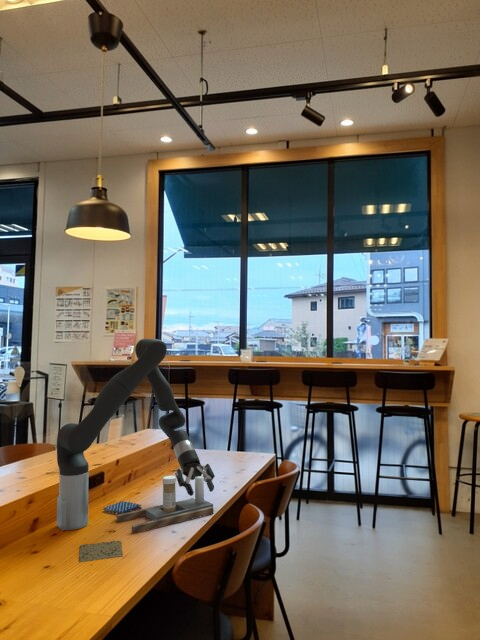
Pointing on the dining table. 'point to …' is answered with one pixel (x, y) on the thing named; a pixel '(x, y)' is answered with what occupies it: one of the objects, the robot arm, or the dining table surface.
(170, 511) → the sprinkles bottle
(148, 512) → the grey tray with post
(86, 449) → the robot arm
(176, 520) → the guide rails
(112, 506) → the woven mat
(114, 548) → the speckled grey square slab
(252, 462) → the dining table surface
